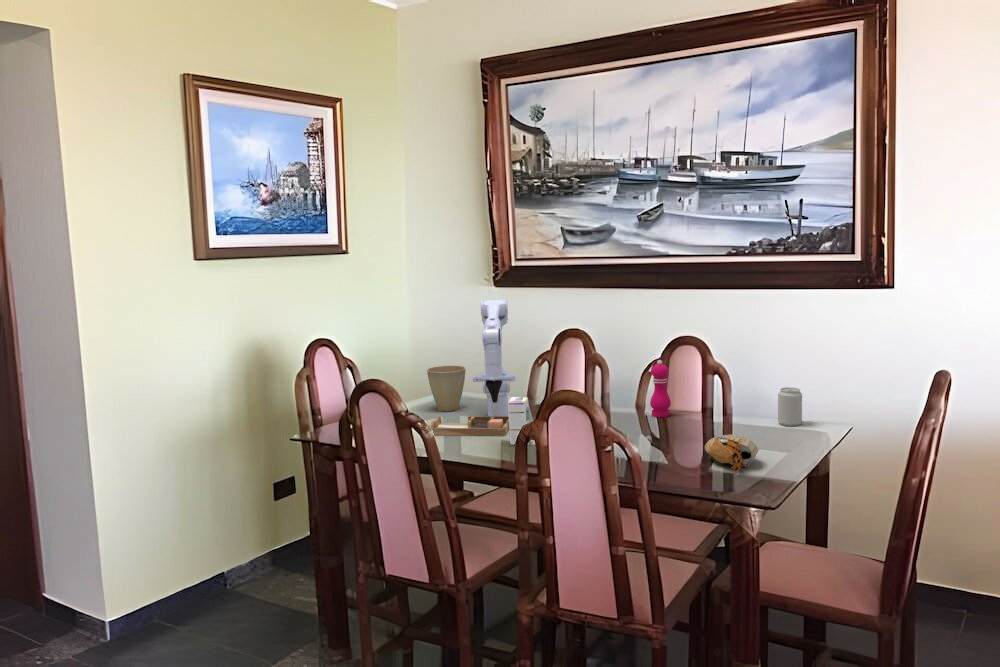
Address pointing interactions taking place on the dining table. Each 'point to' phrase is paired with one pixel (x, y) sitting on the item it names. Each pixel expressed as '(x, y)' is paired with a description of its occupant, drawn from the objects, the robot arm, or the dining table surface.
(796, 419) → the can
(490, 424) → the coral block
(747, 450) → the nautilus
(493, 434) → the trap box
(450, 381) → the plant pot
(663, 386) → the pepper mill
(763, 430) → the dining table surface
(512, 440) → the syrup box
